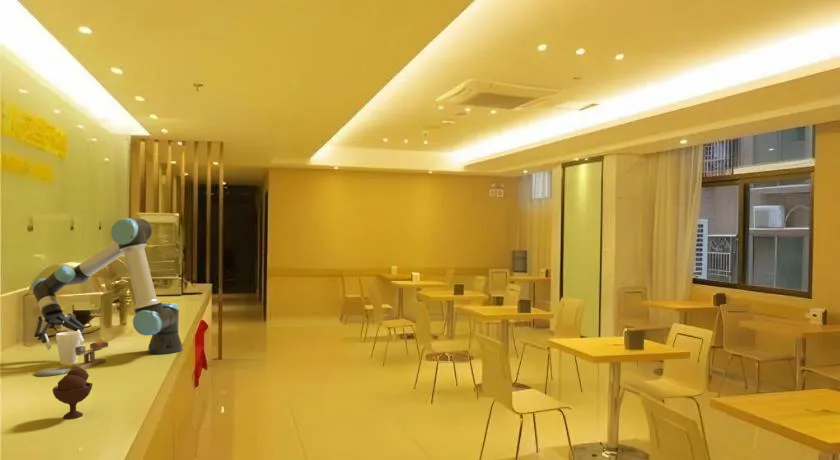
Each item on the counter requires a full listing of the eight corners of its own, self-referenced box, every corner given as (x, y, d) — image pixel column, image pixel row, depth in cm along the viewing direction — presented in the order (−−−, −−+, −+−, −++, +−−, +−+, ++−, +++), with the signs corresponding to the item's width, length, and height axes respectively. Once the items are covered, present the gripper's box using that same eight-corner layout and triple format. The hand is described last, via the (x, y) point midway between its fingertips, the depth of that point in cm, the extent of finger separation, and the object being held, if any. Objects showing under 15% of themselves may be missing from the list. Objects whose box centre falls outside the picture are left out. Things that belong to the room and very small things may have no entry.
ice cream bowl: (63, 411, 192) (62, 365, 192) (99, 410, 193) (99, 364, 193) (45, 422, 182) (45, 373, 182) (83, 421, 183) (83, 372, 183)
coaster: (76, 369, 248) (76, 367, 248) (54, 377, 237) (54, 374, 237) (51, 368, 250) (51, 366, 250) (27, 375, 239) (27, 373, 239)
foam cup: (69, 365, 256) (69, 335, 256) (51, 364, 258) (50, 334, 258) (86, 360, 265) (85, 331, 265) (68, 359, 267) (68, 330, 267)
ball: (104, 345, 263) (104, 338, 263) (99, 347, 260) (99, 339, 260) (98, 345, 264) (98, 338, 264) (93, 346, 260) (93, 339, 260)
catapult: (108, 361, 264) (108, 340, 264) (81, 370, 248) (81, 348, 248) (98, 361, 265) (98, 340, 265) (71, 369, 249) (71, 347, 249)
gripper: (76, 310, 282) (92, 345, 273) (16, 316, 262) (32, 355, 253) (81, 300, 279) (98, 335, 270) (22, 305, 259) (37, 344, 250)
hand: (66, 345), depth 262 cm, fingers open, 13 cm apart
